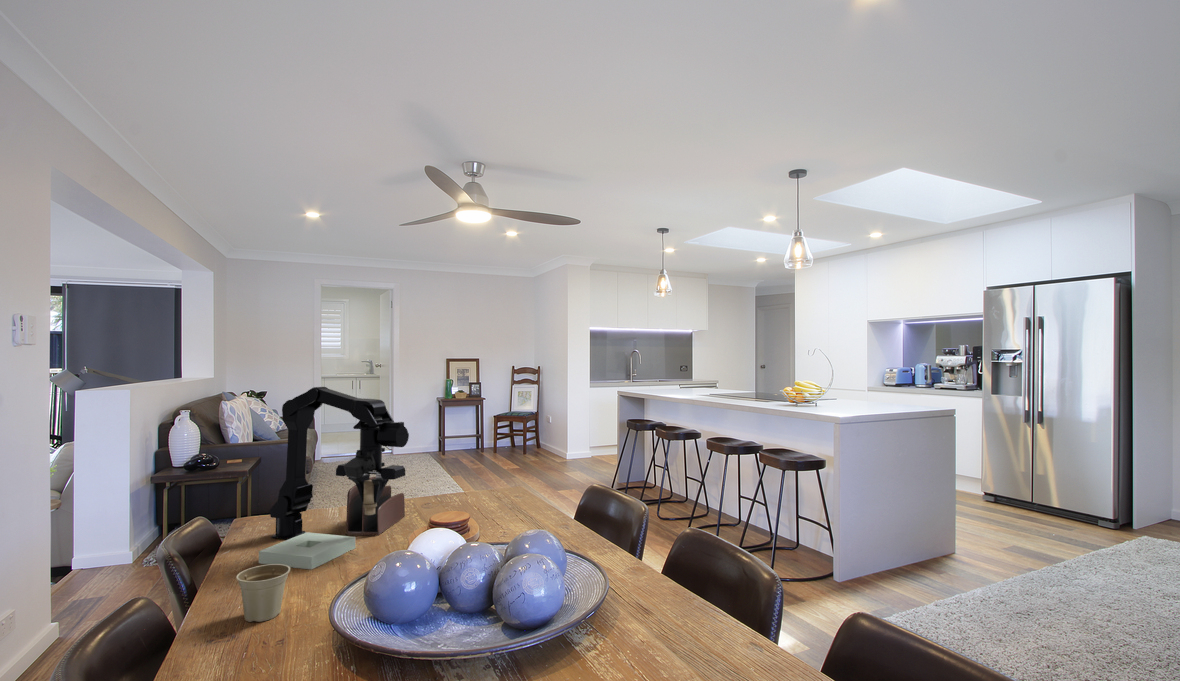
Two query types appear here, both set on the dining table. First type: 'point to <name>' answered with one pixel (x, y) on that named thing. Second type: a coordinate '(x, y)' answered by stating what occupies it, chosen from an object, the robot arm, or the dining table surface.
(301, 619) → the dining table surface
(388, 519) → the letter holder
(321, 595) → the dining table surface
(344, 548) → the board
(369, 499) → the peg
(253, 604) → the flower pot
